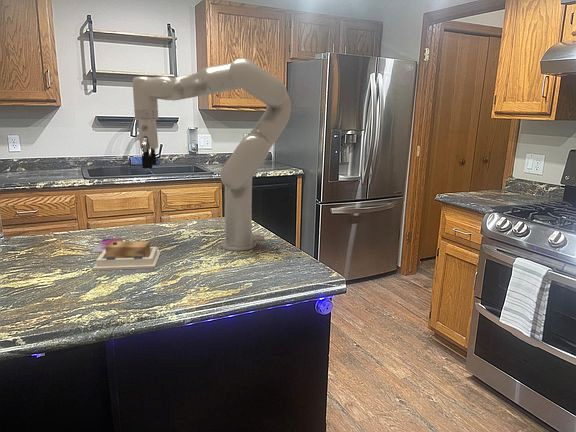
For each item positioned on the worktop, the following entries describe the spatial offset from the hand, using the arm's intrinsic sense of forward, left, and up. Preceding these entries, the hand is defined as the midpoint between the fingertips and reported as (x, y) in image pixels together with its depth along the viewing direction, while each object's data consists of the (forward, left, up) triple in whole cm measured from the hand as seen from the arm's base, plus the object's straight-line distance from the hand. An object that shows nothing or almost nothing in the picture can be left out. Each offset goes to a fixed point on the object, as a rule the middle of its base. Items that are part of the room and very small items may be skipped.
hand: (149, 166), depth 148 cm
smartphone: (+16, +1, -29) cm, 33 cm away
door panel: (+5, +18, -27) cm, 33 cm away
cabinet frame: (+5, +18, -28) cm, 34 cm away
